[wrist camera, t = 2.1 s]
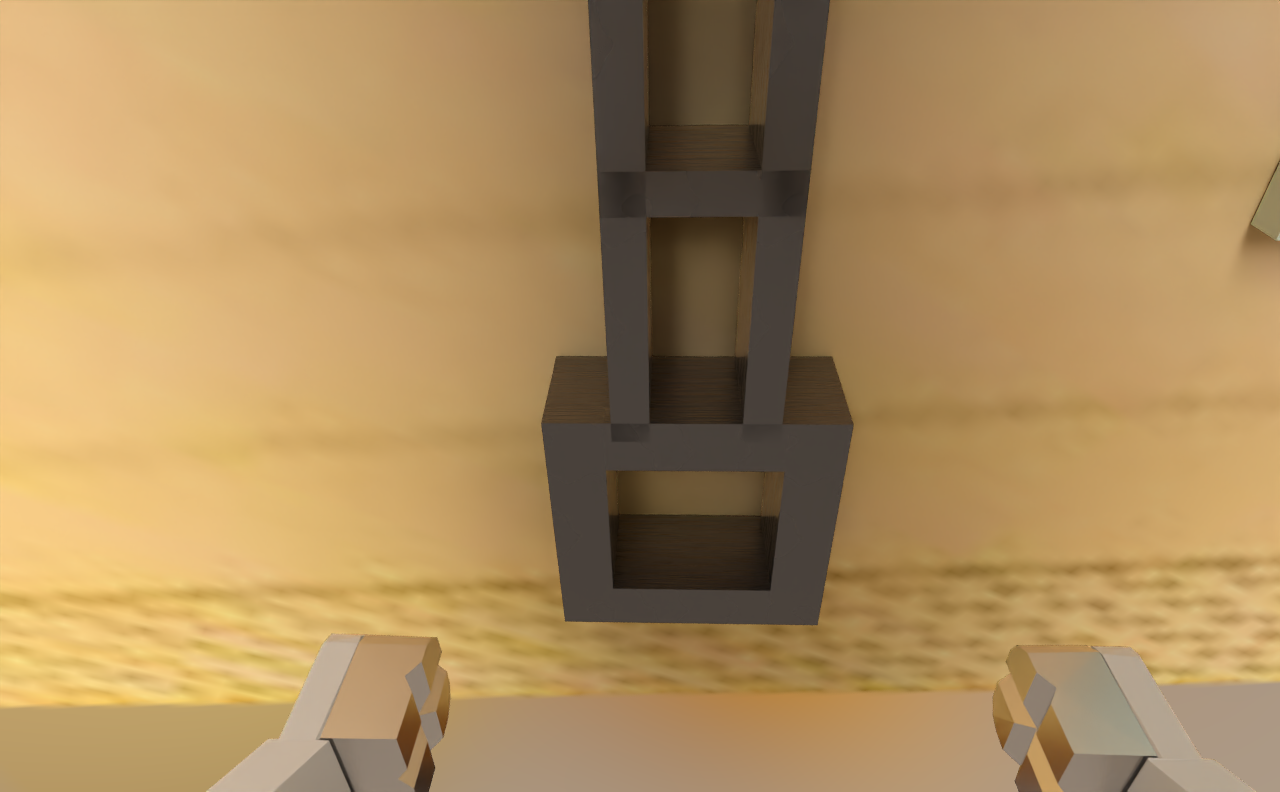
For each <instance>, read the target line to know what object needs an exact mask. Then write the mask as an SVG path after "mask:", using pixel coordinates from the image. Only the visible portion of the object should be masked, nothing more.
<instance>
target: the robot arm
mask: <svg viewBox="0 0 1280 792" xmlns="http://www.w3.org/2000/svg"><path fill="white" fill-rule="evenodd" d="M441 653H442V651H441V648H440V644H439V641H438V638H437V637H415V636H390V635H367V634H331V635H330V636H329V637H328V638H327V639H326V640H325V642H324V643H323V644H322V646H321V648H320V650H319V652H318V654H317V656H316V659H315V661H314V663H313V665H312V667H311V670H310V672H309V674H308V676H307V678H306V680H305V683H304V685H303V687H302V689H301V691H300V693H299V696H298V698H297V700H296V702H295V704H294V706H293V709H292V711H291V713H290V715H289V717H288V720H287V722H286V724H285V726H284V729H283V730H282V733H281V735H280V737H279V739H268V740H266V741H265V742H264V743H263V744H262V745H260V746H259V747H258V748H257V749H256V750H255V751H253V752H252V753H251V754H250V755H249V756H247V757H246V758H245V759H244V760H243V761H241V762H240V763H239V764H238V765H237V766H236V767H235V768H233V769H232V770H231V771H230V772H229V773H227V774H226V775H225V776H224V777H223V778H221V779H220V780H219V781H218V782H217V783H216V784H214V785H213V786H212V787H211V788H210V789H208V790H207V791H206V792H429V789H430V786H431V782H432V778H433V774H434V771H435V765H434V762H433V758H432V755H431V751H430V750H431V749H432V748H433V747H434V746H435V745H436V744H437V743H438V742H439V741H440V740H441V739H442V738H443V737H444V733H445V729H446V725H447V721H448V715H449V705H450V682H449V678H448V674H447V671H446V670H444V669H443V668H442V667H440V666H439V665H438V664H439V660H440V657H441ZM1006 663H1007V666H1008V668H1009V671H1010V674H1008V675H1007V676H1005V677H1004V678H1002V679H1001V680H999V681H998V682H997V685H996V688H995V691H994V695H993V718H994V723H995V728H996V732H997V735H998V738H999V740H1000V743H1001V746H1002V749H1003V750H1004V751H1005V752H1006V753H1007V754H1008V755H1009V756H1010V757H1011V758H1013V759H1014V760H1015V761H1016V762H1017V763H1018V764H1019V765H1020V768H1019V770H1018V773H1017V776H1016V779H1015V783H1016V786H1017V788H1018V791H1019V792H1257V791H1255V790H1254V789H1253V788H1251V787H1250V786H1249V785H1247V784H1246V783H1245V782H1243V781H1242V780H1241V779H1239V778H1238V777H1237V776H1235V775H1234V774H1233V773H1231V772H1230V771H1229V770H1227V769H1226V768H1225V767H1223V766H1222V765H1221V764H1219V763H1218V762H1217V761H1216V760H1214V759H1202V757H1201V756H1200V754H1199V752H1198V751H1197V749H1196V748H1195V746H1194V744H1193V742H1192V741H1191V739H1190V738H1189V736H1188V734H1187V733H1186V731H1185V729H1184V728H1183V726H1182V724H1181V723H1180V721H1179V720H1178V718H1177V717H1176V715H1175V713H1174V711H1173V710H1172V708H1171V707H1170V705H1169V703H1168V702H1167V700H1166V698H1165V697H1164V695H1163V693H1162V692H1161V690H1160V688H1159V687H1158V685H1157V683H1156V682H1155V680H1154V679H1153V677H1152V675H1151V674H1150V672H1149V670H1148V669H1147V667H1146V665H1145V664H1144V662H1143V661H1142V659H1141V657H1140V656H1139V654H1138V653H1137V652H1135V651H1134V650H1133V649H1132V648H1131V647H1120V646H1092V647H1089V646H1087V645H1017V646H1015V647H1014V648H1013V649H1011V650H1010V652H1009V655H1008V657H1007V660H1006Z"/></svg>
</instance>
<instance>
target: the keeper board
mask: <svg viewBox="0 0 1280 792" xmlns="http://www.w3.org/2000/svg"><path fill="white" fill-rule="evenodd" d="M1251 225H1253V226H1254V227H1256V228H1257V229H1259V230H1260V231H1262V232H1263V233H1265V234H1267V235H1268V236H1270V237H1271V238H1273V239H1274V240H1276V241H1280V163H1279V165H1278V167H1277V169H1276V171H1275V173H1274V176H1273V178H1272V180H1271V182H1270V184H1269V186H1268V188H1267V190H1266V192H1265V195H1264V197H1263V199H1262V201H1261V203H1260V205H1259V207H1258V209H1257V212H1256V214H1255V216H1254V218H1253V220H1252V222H1251Z"/></svg>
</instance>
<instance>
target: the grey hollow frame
mask: <svg viewBox="0 0 1280 792" xmlns="http://www.w3.org/2000/svg"><path fill="white" fill-rule="evenodd" d="M829 3H830V0H757V5H756V21H755V37H754V53H753V69H752V85H751V102H750V118H749V125H686V126H649V83H648V6H647V0H588V9H589V28H590V46H591V65H592V84H593V102H594V121H595V139H596V158H597V177H598V195H599V214H600V233H601V251H602V270H603V289H604V307H605V326H606V345H607V357H601V356H556V361H555V365H554V369H553V374H552V378H551V383H550V387H549V392H548V396H547V400H546V405H545V409H544V414H543V418H542V423H541V425H542V433H543V441H544V450H545V458H546V466H547V474H548V483H549V491H550V499H551V508H552V516H553V524H554V533H555V541H556V549H557V558H558V566H559V574H560V583H561V591H562V599H563V607H564V616H565V621H573V622H641V623H709V624H777V625H818V619H819V613H820V608H821V602H822V597H823V591H824V586H825V580H826V575H827V569H828V564H829V558H830V552H831V547H832V541H833V536H834V530H835V525H836V519H837V514H838V508H839V503H840V497H841V491H842V486H843V480H844V475H845V469H846V464H847V458H848V453H849V447H850V442H851V436H852V430H853V421H852V418H851V415H850V412H849V409H848V406H847V402H846V399H845V396H844V393H843V390H842V387H841V383H840V380H839V377H838V374H837V371H836V368H835V364H834V361H833V358H832V357H790V352H791V343H792V334H793V325H794V316H795V307H796V298H797V289H798V281H799V272H800V263H801V254H802V245H803V236H804V227H805V218H806V209H807V200H808V191H809V182H810V173H811V164H812V155H813V146H814V137H815V128H816V119H817V110H818V102H819V93H820V84H821V75H822V66H823V57H824V48H825V39H826V30H827V21H828V12H829ZM650 217H743V231H742V247H741V263H740V280H739V296H738V312H737V328H736V344H735V357H652V314H651V237H650ZM617 471H757V472H765V476H764V486H763V496H762V506H761V516H697V515H619V507H618V487H617Z"/></svg>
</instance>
